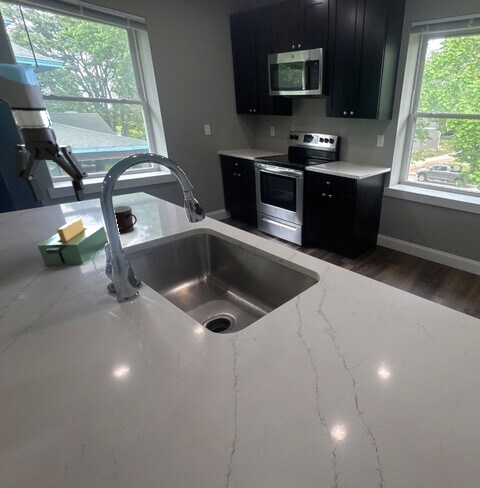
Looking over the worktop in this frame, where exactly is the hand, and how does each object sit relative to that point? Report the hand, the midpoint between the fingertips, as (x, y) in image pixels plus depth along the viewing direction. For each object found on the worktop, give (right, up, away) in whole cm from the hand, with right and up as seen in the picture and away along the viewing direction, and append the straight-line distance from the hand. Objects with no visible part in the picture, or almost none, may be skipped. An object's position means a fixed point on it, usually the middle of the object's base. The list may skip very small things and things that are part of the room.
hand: (60, 200), depth 95 cm
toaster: (-1, -18, +9) cm, 20 cm away
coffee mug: (+3, -10, +27) cm, 29 cm away
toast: (-1, -17, +8) cm, 19 cm away
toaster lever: (+1, -16, -3) cm, 17 cm away
